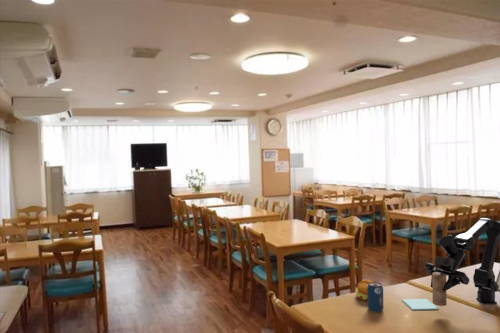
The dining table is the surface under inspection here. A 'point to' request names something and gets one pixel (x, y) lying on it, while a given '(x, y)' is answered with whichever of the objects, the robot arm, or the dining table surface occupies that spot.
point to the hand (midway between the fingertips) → (437, 289)
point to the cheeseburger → (362, 289)
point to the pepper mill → (439, 288)
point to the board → (420, 304)
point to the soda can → (375, 296)
